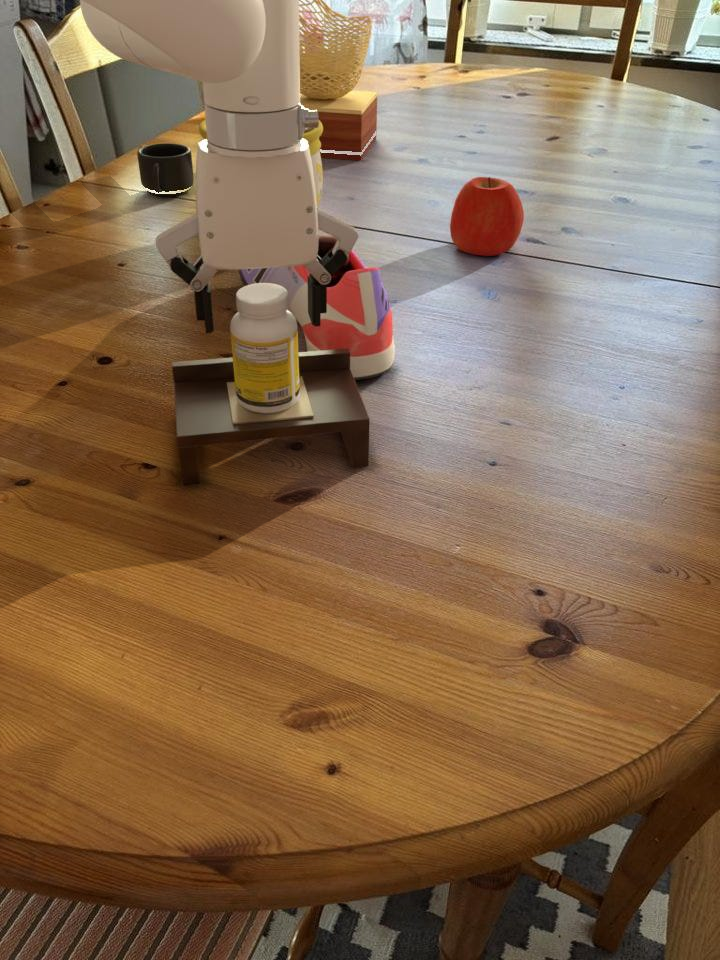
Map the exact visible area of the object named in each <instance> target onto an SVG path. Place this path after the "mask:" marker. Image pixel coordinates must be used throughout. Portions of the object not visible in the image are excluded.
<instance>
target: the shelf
mask: <svg viewBox="0 0 720 960" xmlns="http://www.w3.org/2000/svg"><path fill="white" fill-rule="evenodd" d="M298 357H299V383H300V395H299V399H298V401H297V402H296V403H295V404H294V405H293V406H291V407H290V408H288V409H286V410H283V411H280V412H276V413H257V412H253V411H250V410H248V409H246V408H244V407H243V406H242V405H240V403H239V402H238V400H237V397H236V389H235V378H234V367H233V356H232V357H221V358H209V359H208V358H207V359H196V360H195V359H194V360H183V361H181V360H180V361H172V362H171V370H172V371H171V372H172V379H173V391H174V410H175V431H176V442H177V451H178V457H179V466H180V472H181V482H182V485H183V486H185V485H195V484H200V483H201V479H200V468H199V467H200V466H199V455H198V446H207V445H216V444H217V445H218V444H219V445H220V444H227V443H238V442H250V441H260V440H268V439H269V440H270V439H271V440H272V439H281V438H291V437H293V438H294V437H302V436H303V437H304V436H311V435H314V436H315V435H323V434H325V435H326V434H334V433H340V434H341V437H342V440H343V442H344V445H345V446H344V447H345V449H346V451H347V455H348V458H349V461H350V464H351V467H352V468H363V467H369V464H370V463H369V460H370V457H369V456H370V426H371V425H370V423H371V422H370V421H371V419H370V416H369V414H368V411H367V409H366V405H365V403H364V400H363V399H362V396H361V395H362V394H361V393H360V391H359V388H358V385H357V383H356V380H354V377H353V375H352V372H351V370H350V351H349V349H348V348H347V349H334V350H321V351H308V350H307V351H298Z"/></svg>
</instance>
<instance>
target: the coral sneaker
mask: <svg viewBox="0 0 720 960" xmlns="http://www.w3.org/2000/svg"><path fill="white" fill-rule="evenodd" d="M318 238H319V245H318V256H319V257H320V258H321V259H322V258H323V257H324V256H325V255H326V254H327V253H328V252H329V251H330V250H331V249H332V248H333V247H334V246H335V244H336V241H337V239H338V238H336V237H334V236H332V235H318ZM309 273H310V272H309V271H308V270H307V269H306V268H305V267H304V266H303V265H302V266H294V267H277V268H259V269H238V274H239V277H240V280H241V283H242V285H243V287H244V286H247V285H251V284H256V283H272V284H277V285H280V286H282V287H284V288H285V289H286V290H287V292H288V302H289V304H288V309H287V310H288V311H290V312H291V313H292V314H293V315H294V317H295V319H296V321H297V323H299V325H300V326H301V329H302V330H303V333H304V338H305V342H306V350H307V352H308V351H321V350H334V349H347V348H348V349H349V351H350V370H351V372H352V375H353V377H354V380H355V381H357V380H365V379H366V380H367V379H371V378H375V377H379V376H381V375H384V374H385V373H386V374H387V373H388V372H390V370H391V369H392V367H393V366H394V363H395V356H396V347H395V340H394V336H393V335H394V325H393V324H394V323H393V311H392V307H391V304H390V300H389V297H388V293H387V291H386V289H385V287H384V284H383V282H382V277H381V271H380V269H379V268H378V267H375V266H373V267H368V266H367V265H366V263H365V262H364V261H363V260H362V258H361V256H359V254H357V252H356V251H355V250H354V249H352V250H351V252H350V253H349V255H348V256H347V261H346V263H345V264H344V265H343V266H342V267H341V268H340V269H339V270H338V271H337V272H336V273H335V274H334V275H333V276H332V277H331V281H330V282H329V283H328V284H327V312H326V313H320V326H314V325H312V323H311V320H310V317H309V314H308V276H309V275H310V274H309Z"/></svg>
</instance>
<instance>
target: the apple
mask: <svg viewBox="0 0 720 960" xmlns="http://www.w3.org/2000/svg"><path fill="white" fill-rule="evenodd" d="M450 216H451V217H450V222H449V230H450V231H449V233H450V238H451V240H452V243H453V244H454V246H455V247H456V248H457V249H458V250H459V251H461V252H464V253H466V254H471V255H475V256H481V257H494V256H499V255H502V254H504V253H506V252H509V251H510V250H511V249H512V248H513V247H514V246H515V244H516V243H517V241H518V239H519V237H520V235H521V232H522V228H523V224H524V220H525V210H524V207H523V203H522V200H521V198H520V196H519V193H518V191H517V190H516V189H515V187H514V185H513V184H512V183H510V182H509V181H507V180H504V179H502V178H496V177H490V176H489V177H488V176H477V177H473V178H471V179H470V180H469V181H468V182H466V183H465V184H463V186H462V188H461V189H459V192H458V194H457V196H456V198H455V201H454V203H453V208H452V211H451V215H450Z"/></svg>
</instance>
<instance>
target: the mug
mask: <svg viewBox="0 0 720 960" xmlns="http://www.w3.org/2000/svg"><path fill="white" fill-rule="evenodd" d="M136 154H137V155H136V156H137V163H138V169H139V171H138V172H139V177H140V183H141V185H143V186H144V187H145V188H148V189H150V190H155V191H156V192H158V193H159V192H162V191H165V192H169V191H177V190H184V189H187V188H189V187H191V186H192V187H193V185H194V182H195V181H194V180H195V178H194V167H193V157H192V149H191V148H190V147H189V146H187V145H185V144H180V143H170V142H166V143H165V142H163V143H153V144H148V145H145V146H142V147H140V148H139V149H138V150H137V152H136ZM143 186H142V187H143ZM144 187H143V188H144ZM190 190H191V189H189V190H187V191H185V192H181V193H176V194H155V193H151V192H148V191H146V193H149V194H151V195H153V196H156V197H160V198H174V197H180V196H182V195H184V194H185V193H187V192H189V191H190Z"/></svg>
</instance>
